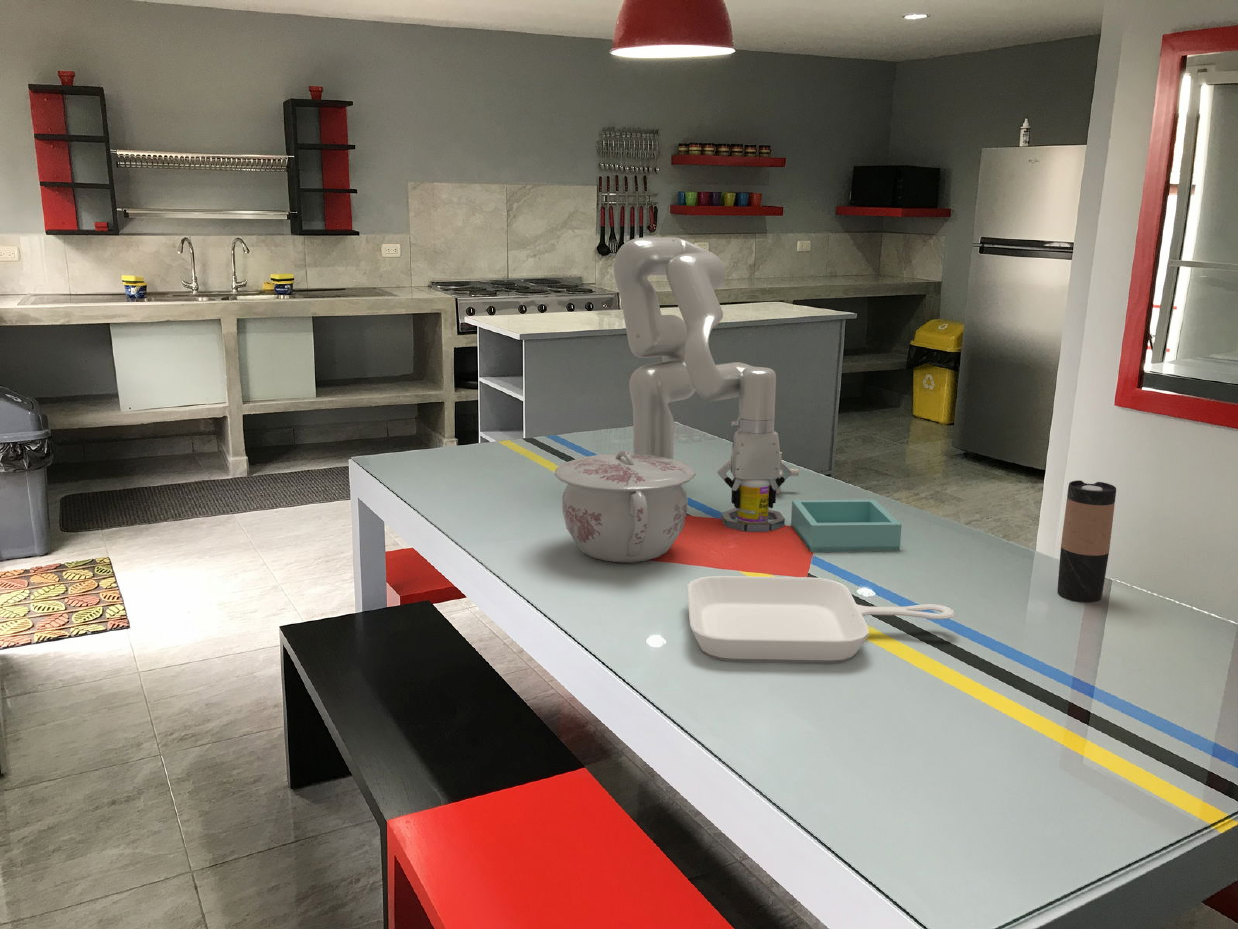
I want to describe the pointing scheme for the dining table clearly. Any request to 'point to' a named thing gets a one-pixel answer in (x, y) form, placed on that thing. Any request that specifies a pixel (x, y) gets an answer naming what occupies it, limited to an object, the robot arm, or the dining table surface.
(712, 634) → the pan
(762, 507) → the supplement bottle
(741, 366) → the robot arm
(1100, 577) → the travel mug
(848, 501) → the bin
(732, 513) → the collar
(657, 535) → the chamber pot
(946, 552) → the dining table surface
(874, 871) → the dining table surface
